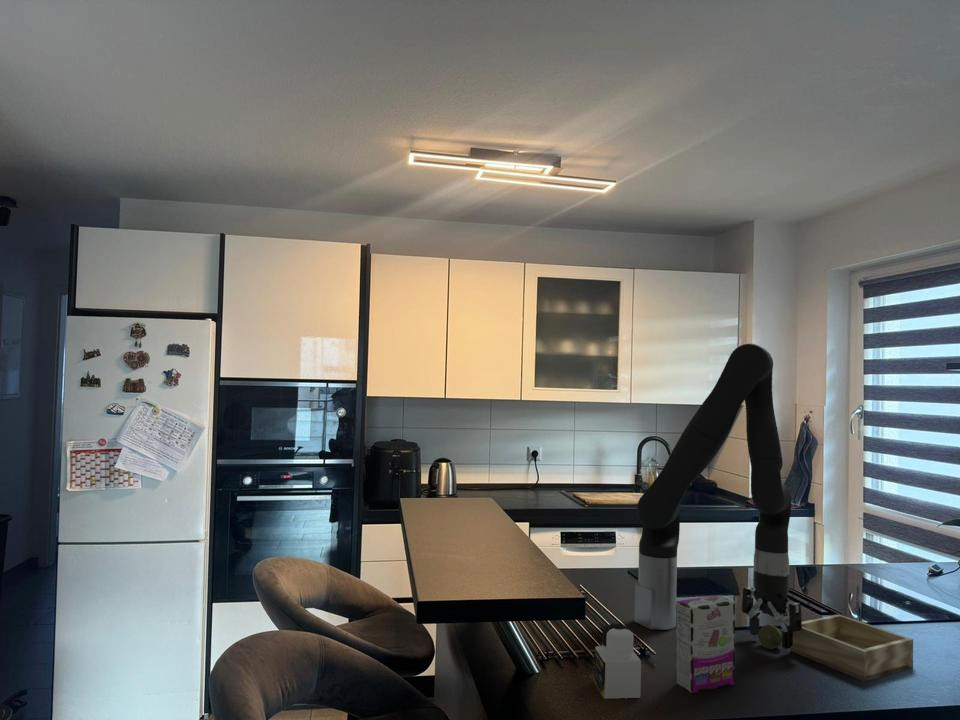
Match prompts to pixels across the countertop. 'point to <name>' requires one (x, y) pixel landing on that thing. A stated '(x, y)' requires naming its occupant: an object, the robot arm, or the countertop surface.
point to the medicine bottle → (617, 664)
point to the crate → (853, 647)
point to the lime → (770, 637)
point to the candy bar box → (705, 643)
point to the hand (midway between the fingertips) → (770, 641)
